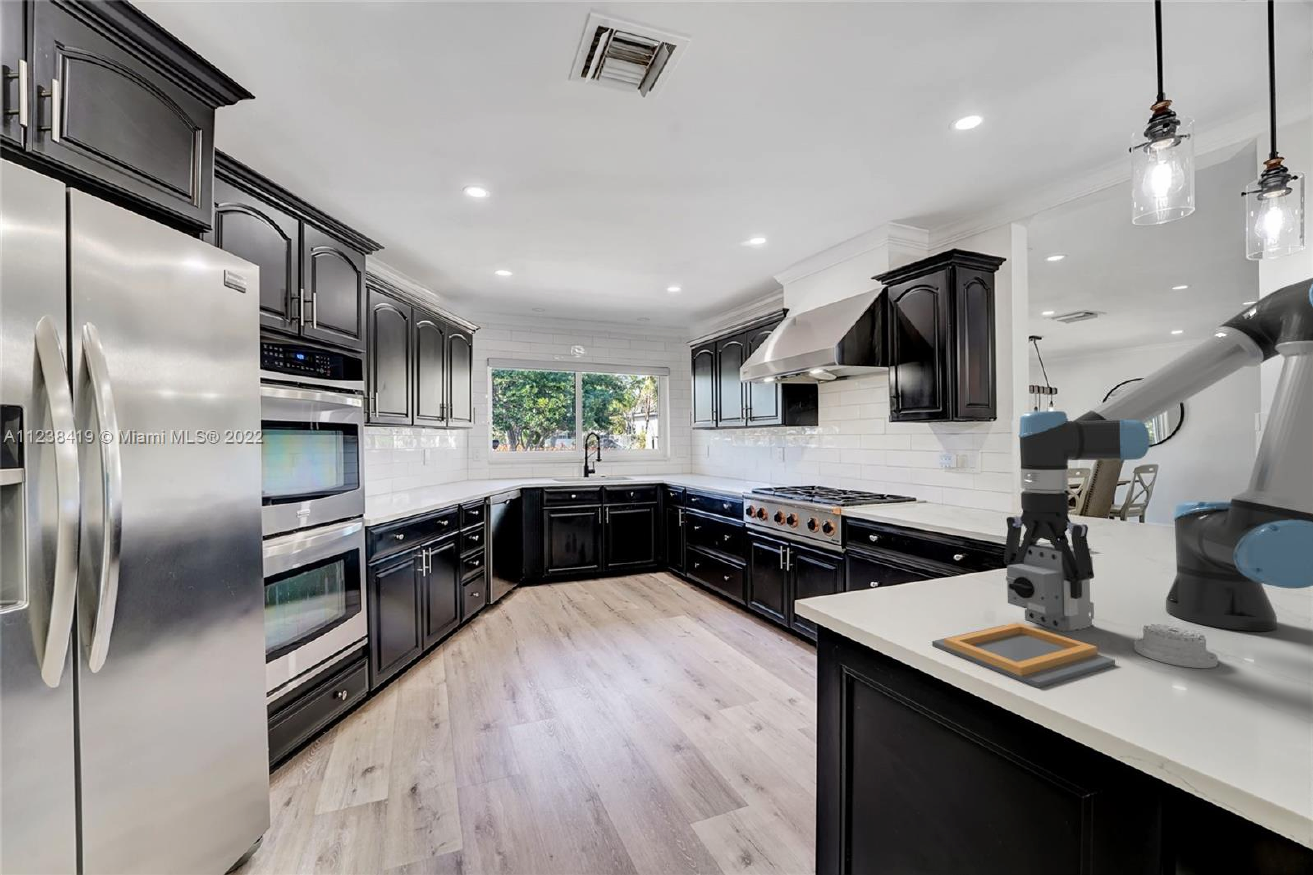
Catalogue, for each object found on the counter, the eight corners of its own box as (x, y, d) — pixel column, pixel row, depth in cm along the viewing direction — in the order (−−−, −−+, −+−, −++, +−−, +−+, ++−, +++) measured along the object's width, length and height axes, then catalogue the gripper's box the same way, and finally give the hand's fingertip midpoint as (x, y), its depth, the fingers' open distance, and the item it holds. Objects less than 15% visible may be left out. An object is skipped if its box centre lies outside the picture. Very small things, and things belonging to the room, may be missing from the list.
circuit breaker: (1001, 623, 106) (999, 547, 106) (1054, 614, 110) (1052, 541, 110) (1039, 636, 99) (1037, 554, 99) (1094, 626, 103) (1092, 548, 103)
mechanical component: (1160, 668, 85) (1236, 672, 83) (1160, 640, 85) (1235, 643, 83) (1120, 644, 95) (1186, 647, 93) (1119, 619, 95) (1186, 622, 93)
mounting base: (1004, 629, 103) (1004, 618, 103) (1115, 664, 86) (1114, 652, 86) (932, 645, 95) (932, 634, 95) (1038, 688, 79) (1038, 674, 79)
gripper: (980, 488, 113) (983, 597, 112) (1092, 496, 94) (1096, 628, 93) (1004, 486, 115) (1007, 592, 115) (1118, 494, 96) (1121, 621, 96)
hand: (1046, 608), depth 104 cm, fingers closed on circuit breaker, 8 cm apart
